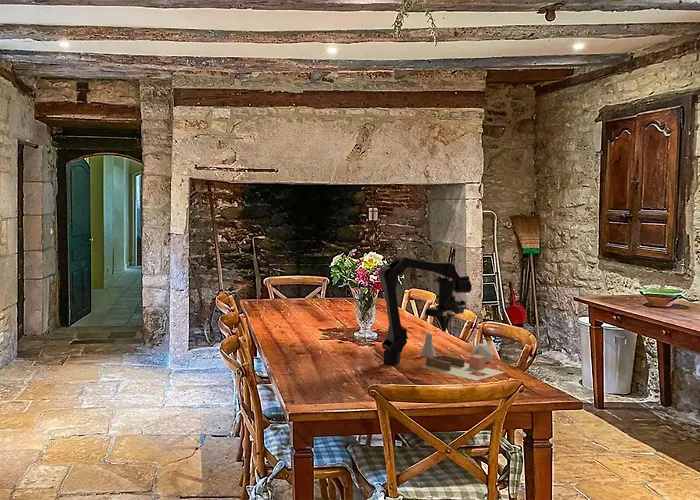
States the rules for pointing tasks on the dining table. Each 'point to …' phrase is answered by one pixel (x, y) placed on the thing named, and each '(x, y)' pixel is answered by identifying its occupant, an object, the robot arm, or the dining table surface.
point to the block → (477, 362)
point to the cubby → (444, 362)
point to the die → (483, 351)
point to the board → (467, 371)
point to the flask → (428, 347)
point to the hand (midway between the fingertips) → (444, 331)
